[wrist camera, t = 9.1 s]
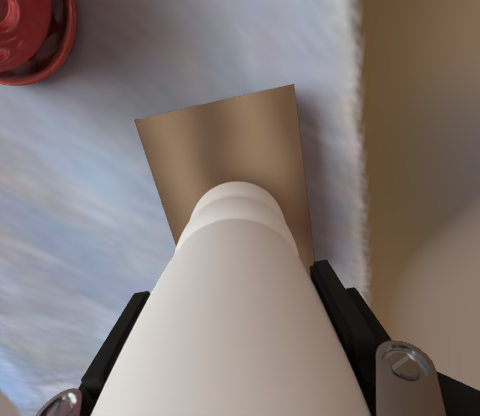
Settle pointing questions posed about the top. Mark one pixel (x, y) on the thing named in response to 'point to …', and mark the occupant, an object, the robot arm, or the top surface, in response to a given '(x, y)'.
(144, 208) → the top surface
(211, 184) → the walnut stand
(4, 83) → the plant pot
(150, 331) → the water bottle
